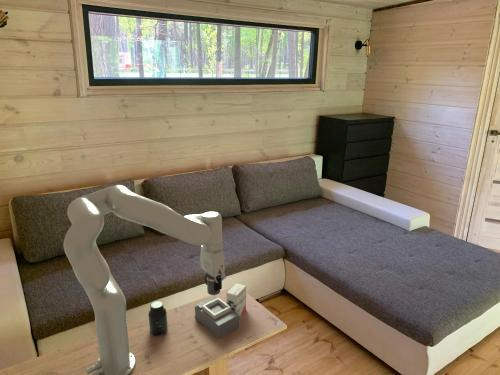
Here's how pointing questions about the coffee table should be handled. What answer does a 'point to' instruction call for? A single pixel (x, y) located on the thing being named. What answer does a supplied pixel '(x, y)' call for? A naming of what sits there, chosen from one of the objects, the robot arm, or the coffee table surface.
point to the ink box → (237, 298)
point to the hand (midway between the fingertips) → (213, 286)
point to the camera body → (217, 316)
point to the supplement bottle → (157, 318)
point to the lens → (211, 285)
